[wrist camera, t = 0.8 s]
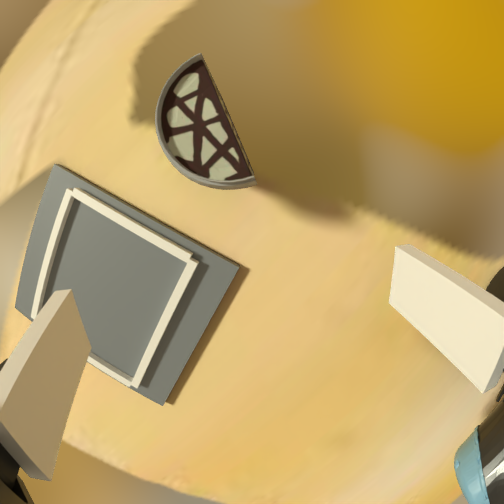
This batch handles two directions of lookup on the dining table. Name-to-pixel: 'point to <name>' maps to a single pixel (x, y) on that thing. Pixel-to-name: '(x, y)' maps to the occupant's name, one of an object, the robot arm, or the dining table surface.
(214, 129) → the food container
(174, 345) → the dock board
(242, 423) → the dining table surface
